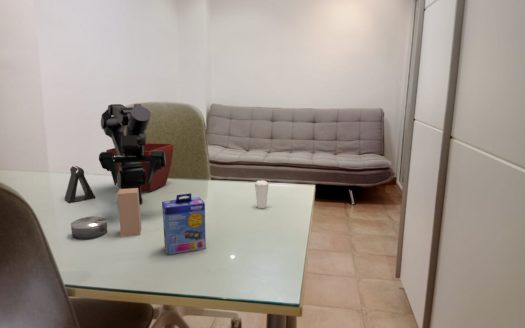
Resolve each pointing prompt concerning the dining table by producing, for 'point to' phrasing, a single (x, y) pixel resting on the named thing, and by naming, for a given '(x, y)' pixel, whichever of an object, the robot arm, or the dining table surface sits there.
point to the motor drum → (89, 228)
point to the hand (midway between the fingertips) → (131, 183)
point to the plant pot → (161, 174)
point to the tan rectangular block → (129, 212)
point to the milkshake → (261, 193)
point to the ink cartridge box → (184, 224)
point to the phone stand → (73, 186)
